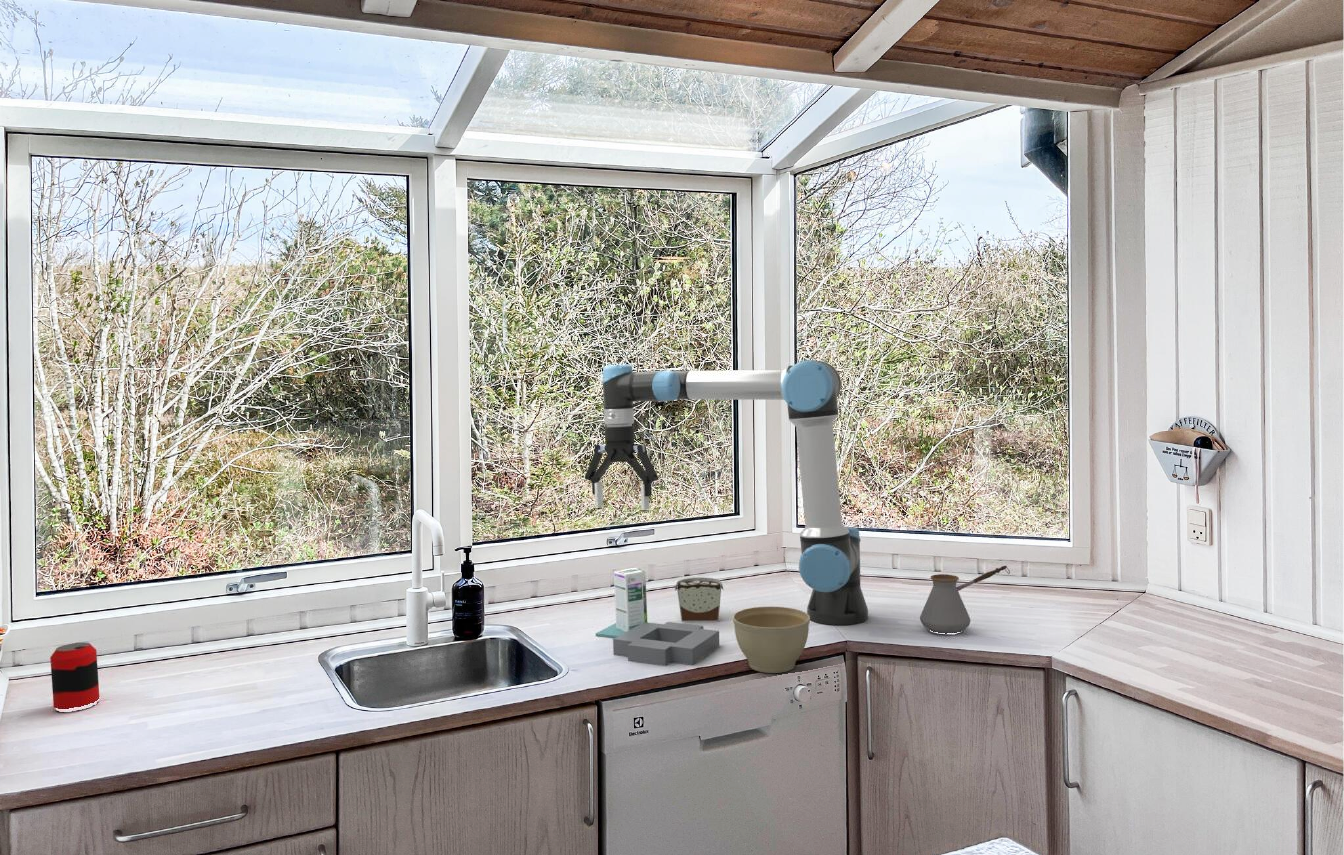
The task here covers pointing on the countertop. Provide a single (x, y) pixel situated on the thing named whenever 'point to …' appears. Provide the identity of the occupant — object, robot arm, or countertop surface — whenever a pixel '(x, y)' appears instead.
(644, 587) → the syrup box
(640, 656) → the frame
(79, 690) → the soda can
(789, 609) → the planter bowl
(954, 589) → the coffee pot
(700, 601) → the food container
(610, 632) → the service mat
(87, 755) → the countertop surface
